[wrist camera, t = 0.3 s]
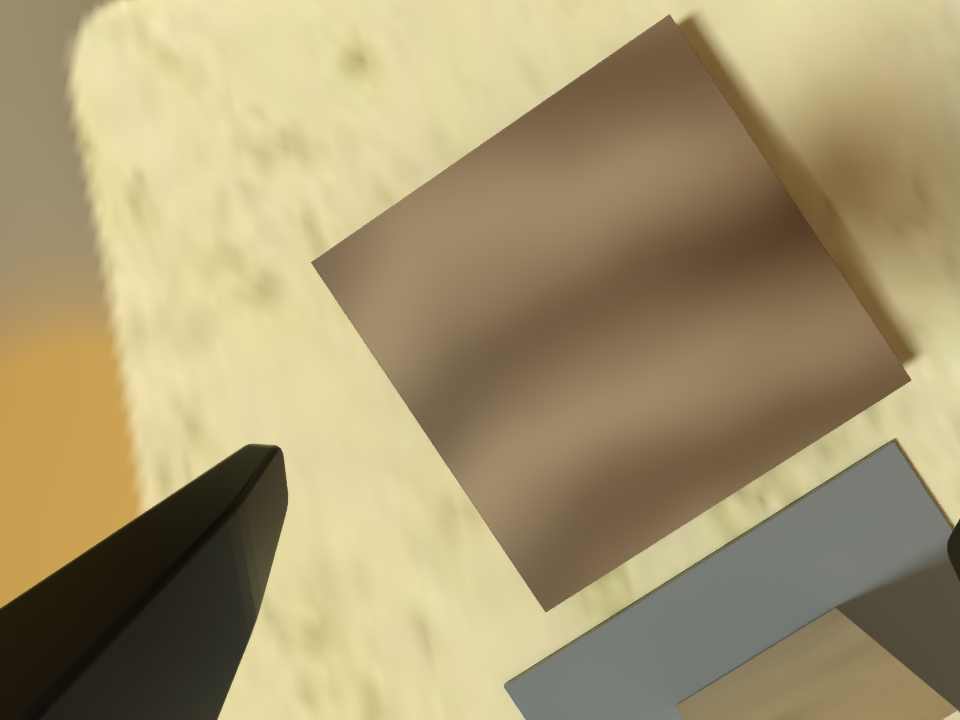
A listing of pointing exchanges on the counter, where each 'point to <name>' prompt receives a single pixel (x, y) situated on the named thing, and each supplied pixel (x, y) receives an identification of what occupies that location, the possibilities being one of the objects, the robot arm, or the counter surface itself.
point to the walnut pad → (610, 316)
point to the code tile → (773, 602)
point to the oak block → (820, 682)
